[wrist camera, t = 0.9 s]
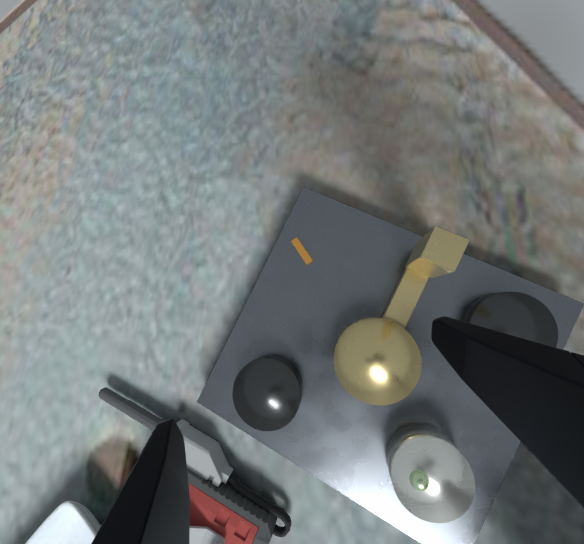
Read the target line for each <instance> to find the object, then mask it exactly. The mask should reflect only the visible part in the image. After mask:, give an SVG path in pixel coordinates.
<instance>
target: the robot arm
mask: <svg viewBox="0 0 584 544" xmlns="http://www.w3.org/2000/svg"><path fill="white" fill-rule="evenodd" d="M431 339H432V342H433V344H434V345H435V346H436V348H437V349H438V350H439V351H440V353H441V354H442V355H443V357H444V358H445V359H446V360H447V362H448V363H449V364H450V365H451V367H452V368H453V369H454V371H455V372H456V373H457V374H458V375H459V377H460V378H461V379H462V380H463V381H464V382H465V383H466V385H467V386H468V387H469V388H470V389H471V390H472V391H473V392H474V393H475V394H476V395H477V396H478V397H479V398H480V399H481V400H482V401H483V402H484V404H485V405H486V406H487V407H488V408H489V409H490V410H491V411H492V412H493V413H494V414H495V415H496V416H497V417H498V418H499V419H500V420H501V421H502V422H503V423H504V425H505V426H506V427H507V428H508V429H509V430H510V431H511V432H512V433H513V434H514V435H515V436H516V437H517V438H518V439H519V440H520V441H521V442H522V443H523V444H524V446H525V447H526V448H527V449H528V450H529V451H530V452H531V453H532V454H533V455H534V456H535V457H536V458H537V459H538V460H539V461H540V462H541V463H542V464H543V465H544V467H545V468H546V469H547V470H548V471H549V472H550V473H551V474H552V475H553V476H554V477H555V478H556V479H557V480H558V481H559V482H560V483H561V484H562V485H563V487H564V488H565V489H566V490H567V491H568V492H569V493H570V494H571V495H572V496H573V497H574V498H575V499H576V500H577V501H578V502H579V503H580V504H581V505H582V506H583V508H584V356H583V355H580V354H576V353H570V352H569V351H566V350H562V349H559V348H555V347H552V346H548V345H544V344H541V343H537V342H534V341H530V340H527V339H523V338H520V337H516V336H513V335H509V334H506V333H502V332H499V331H495V330H492V329H488V328H485V327H481V326H478V325H474V324H471V323H467V322H464V321H460V320H457V319H453V318H450V317H446V316H442V317H439V318H436V319H434V320H433V321H432V331H431ZM189 531H190V496H189V484H188V473H187V463H186V453H185V443H184V438H183V435H182V433H181V431H180V429H179V427H178V425H177V424H176V422H175V420H174V419H173V418H170V419H167V420H164V421H162V422H159V423H158V424H157V425H156V427H155V429H154V431H153V433H152V434H151V436H150V438H149V440H148V442H147V444H146V445H145V447H144V449H143V451H142V453H141V454H140V456H139V458H138V460H137V462H136V463H135V465H134V467H133V469H132V471H131V473H130V474H129V476H128V478H127V480H126V482H125V483H124V485H123V487H122V489H121V491H120V493H119V494H118V496H117V498H116V500H115V502H114V503H113V505H112V507H111V509H110V511H109V512H108V514H107V516H106V518H105V520H104V522H103V523H102V525H101V527H100V529H99V531H98V532H97V534H96V536H95V538H94V540H93V542H92V543H91V544H189Z"/></svg>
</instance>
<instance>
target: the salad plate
mask: <svg viewBox="0 0 584 544" xmlns="http://www.w3.org/2000/svg"><path fill="white" fill-rule="evenodd" d="M100 527H101V525H100V524H99V522H98V521H97V519H96V518H95V517H94V515H93V514H92V513H91V512H90V511H89V510H88V509H87V508H86V507H85V506H84V505H82V504H80V503H78V502H75V501H65V502H63V503H61V504H60V505H59V506H58V507H57V508H56V509H55V510H54V511H53V512H52V513H51V514H50V515H49V516H48V517H47V518H46V519H45V521H44V522H43V523H42V524H41V525H40V526H39V527H38V529H37V530H36V531H35V532H34V533H33V535H32V536H31V537H30V538H29V539H28V540H27V542H26V543H25V544H91V543H92V542H93V540H94V538H95V536H96V534H97V532H98V531H99V529H100Z"/></svg>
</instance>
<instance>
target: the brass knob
mask: <svg viewBox="0 0 584 544" xmlns="http://www.w3.org/2000/svg"><path fill="white" fill-rule="evenodd" d="M469 241H470V240H468V239H466V238H463V237H461V236H459V235H456V234H454V233H451V232H449V231H446V230H444V229H441V228H439V227H436V226H435V227H434V228H433V229H432V230H430V231H429V232H428V233H427V234H426V235H424V236H423V237H422V238H421V239H420V240H419V241H417V243H416V245H415V247H414V249H413V251H412V253H411V255H410V257H409V259H408V261H407V263H406V265H405V269H404V271H403V273H402V275H401V277H400V279H399V282H398V284H397V286H396V288H395V290H394V292H393V294H392V296H391V298H390V300H389V302H388V304H387V306H386V309H385V311H384V313H383V315H382V317H381V318H377V317H369V318H363V319H360V320H357V321H355V322H353V323H351V324H350V325H349V326H347V327H346V328H345V329H344V330H343V332H342V333H341V334H340V336H339V338H338V340H337V343H336V346H335V351H334V367H335V371H336V374H337V377H338V379H339V381H340V383H341V384H342V386H343V387H344V388H345V389H346V391H347V392H348V393H349V394H351V395H352V396H353V397H355V398H356V399H358V400H360V401H362V402H364V403H367V404H371V405H379V406H382V405H390V404H393V403H396V402H399V401H400V400H402V399H404V398H405V397H407V396H408V395H409V394H410V393H411V392H412V391H413V389H414V388H415V386H416V385H417V383H418V381H419V378H420V374H421V368H422V361H421V354H420V351H419V348H418V346H417V344H416V342H415V340H414V339H413V337H412V336H411V335H410V334H409V333H408V332H407V331H406V330H405V326H406V324H407V322H408V320H409V318H410V316H411V314H412V312H413V310H414V308H415V306H416V303H417V301H418V299H419V297H420V295H421V293H422V291H423V289H424V287H425V285H426V282H427V280H428V278H435V277H438V276H442V275H445V274H448V273H451V272H455V270H456V268H457V266H458V264H459V262H460V259H461V257H462V255H463V253H464V251H465V249H466V247H467V245H468V243H469Z"/></svg>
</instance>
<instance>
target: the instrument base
mask: <svg viewBox="0 0 584 544" xmlns="http://www.w3.org/2000/svg"><path fill="white" fill-rule="evenodd" d="M422 237H423V236H420V235H418V234H415V233H413V232H411V231H408V230H406V229H403V228H401V227H399V226H396V225H394V224H391V223H389V222H387V221H384V220H382V219H379V218H377V217H374V216H372V215H370V214H367V213H365V212H362V211H360V210H358V209H355V208H353V207H350V206H348V205H346V204H343V203H341V202H338V201H336V200H334V199H331V198H329V197H326V196H324V195H322V194H319V193H317V192H314V191H312V190H310V189H307V188H305V187H303V189H302V191H301V193H300V195H299V197H298V199H297V201H296V203H295V205H294V207H293V209H292V211H291V213H290V215H289V217H288V219H287V221H286V223H285V225H284V227H283V229H282V231H281V233H280V235H279V237H278V239H277V241H276V243H275V245H274V247H273V249H272V251H271V253H270V255H269V257H268V259H267V262H266V264H265V266H264V268H263V270H262V272H261V274H260V276H259V278H258V280H257V282H256V284H255V286H254V288H253V290H252V292H251V294H250V296H249V298H248V300H247V302H246V304H245V306H244V308H243V310H242V312H241V314H240V316H239V318H238V320H237V322H236V324H235V326H234V328H233V330H232V332H231V334H230V336H229V338H228V340H227V342H226V344H225V346H224V348H223V350H222V352H221V354H220V356H219V358H218V360H217V362H216V364H215V366H214V368H213V370H212V372H211V374H210V376H209V378H208V380H207V382H206V385H205V387H204V389H203V391H202V393H201V395H200V397H199V399H198V401H197V402H198V403H199V404H201V405H203V406H204V407H206V408H207V409H209V410H211V411H212V412H214V413H215V414H217V415H218V416H220V417H222V418H223V419H225V420H226V421H228V422H230V423H231V424H233V425H234V426H236V427H238V428H239V429H241V430H242V431H244V432H245V433H247V434H249V435H250V436H252V437H253V438H255V439H257V440H258V441H260V442H261V443H263V444H264V445H266V446H268V447H269V448H271V449H272V450H274V451H276V452H277V453H279V454H280V455H282V456H283V457H285V458H287V459H288V460H290V461H291V462H293V463H295V464H296V465H298V466H299V467H301V468H303V469H304V470H306V471H307V472H309V473H310V474H312V475H314V476H315V477H317V478H318V479H320V480H322V481H323V482H325V483H326V484H328V485H329V486H331V487H333V488H334V489H336V490H337V491H339V492H341V493H342V494H344V495H345V496H347V497H348V498H350V499H352V500H353V501H355V502H356V503H358V504H360V505H361V506H363V507H364V508H366V509H367V510H369V511H371V512H372V513H374V514H375V515H377V516H379V517H380V518H382V519H383V520H385V521H387V522H388V523H390V524H391V525H393V526H394V527H396V528H398V529H399V530H401V531H402V532H404V533H406V534H407V535H409V536H410V537H412V538H413V539H415V540H417V541H418V542H420V543H421V544H474V542H475V540H476V538H477V536H478V534H479V531H480V529H481V527H482V525H483V523H484V521H485V518H486V516H487V514H488V512H489V510H490V507H491V505H492V503H493V501H494V499H495V497H496V494H497V492H498V490H499V488H500V486H501V484H502V481H503V479H504V477H505V475H506V473H507V470H508V468H509V466H510V464H511V462H512V460H513V457H514V455H515V453H516V451H517V449H518V446H519V444H520V442H521V441H520V440H519V439H518V438H517V437H516V436H515V435H514V434H513V433H512V432H511V431H510V430H509V429H508V428H507V427H506V426H505V425H504V423H503V422H502V421H501V420H500V419H499V418H498V417H497V416H496V415H495V414H494V413H493V412H492V411H491V410H490V409H489V408H488V407H487V406H486V405H485V404H484V402H483V401H482V400H481V399H480V398H479V397H478V396H477V395H476V394H475V393H474V392H473V391H472V390H471V389H470V388H469V387H468V386H467V385H466V383H465V382H464V381H463V380H462V379H461V378H460V377H459V375H458V374H457V373H456V372H455V371H454V369H453V368H452V367H451V365H450V364H449V363H448V362H447V360H446V359H445V358H444V357H443V355H442V354H441V353H440V351H439V350H438V349H437V348H436V346H435V345H434V344H433V342H432V339H431V331H432V321H433V320H434V319H436V318H439V317H442V316H446V317H450V318H453V319H457V320H460V321H464V322H467V323H471V324H474V325H478V326H481V327H485V328H488V329H492V330H495V331H499V332H502V333H506V334H509V335H513V336H516V337H520V338H523V339H527V340H530V341H534V342H537V343H541V344H544V345H548V346H552V347H555V348H559V349H562V350H563V348H564V346H565V344H566V342H567V340H568V338H569V335H570V333H571V331H572V329H573V327H574V324H575V322H576V320H577V318H578V316H579V314H580V311H581V309H582V307H583V305H584V304H583V303H581V302H579V301H576V300H574V299H571V298H569V297H567V296H564V295H562V294H559V293H557V292H555V291H552V290H550V289H547V288H545V287H543V286H540V285H538V284H535V283H533V282H531V281H528V280H526V279H523V278H521V277H519V276H516V275H514V274H511V273H509V272H507V271H504V270H502V269H499V268H497V267H495V266H492V265H490V264H487V263H485V262H483V261H480V260H478V259H475V258H473V257H471V256H468V255H466V254H463V255H462V257H461V259H460V262H459V264H458V266H457V268H456V270H455V272H451V273H448V274H445V275H442V276H438V277H435V278H428V280H427V282H426V285H425V287H424V289H423V291H422V293H421V295H420V297H419V299H418V301H417V303H416V306H415V308H414V310H413V312H412V314H411V316H410V318H409V320H408V322H407V324H406V326H405V330H406V331H407V332H408V333H409V334H410V335H411V336H412V337H413V339H414V340H415V342H416V344H417V346H418V348H419V351H420V354H421V361H422V368H421V374H420V378H419V381H418V383H417V385H416V386H415V388H414V389H413V391H412V392H411V393H410V394H409V395H408V396H407V397H405V398H404V399H402V400H400V401H399V402H396V403H393V404H390V405H382V406H379V405H371V404H367V403H364V402H362V401H360V400H358V399H356V398H355V397H353V396H352V395H351V394H349V393H348V392H347V391H346V389H345V388H344V387H343V386H342V384H341V383H340V381H339V379H338V377H337V374H336V371H335V367H334V351H335V346H336V343H337V340H338V338H339V336H340V334H341V333H342V332H343V330H344V329H345V328H346V327H347V326H349V325H350V324H351V323H353V322H355V321H357V320H360V319H363V318H369V317H377V318H381V317H382V315H383V313H384V311H385V309H386V306H387V304H388V302H389V300H390V298H391V296H392V294H393V292H394V290H395V288H396V286H397V284H398V282H399V279H400V277H401V275H402V273H403V271H404V269H405V265H406V263H407V261H408V259H409V257H410V255H411V253H412V251H413V249H414V247H415V245H416V243H417V241H419V240H420V239H421V238H422Z"/></svg>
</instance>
